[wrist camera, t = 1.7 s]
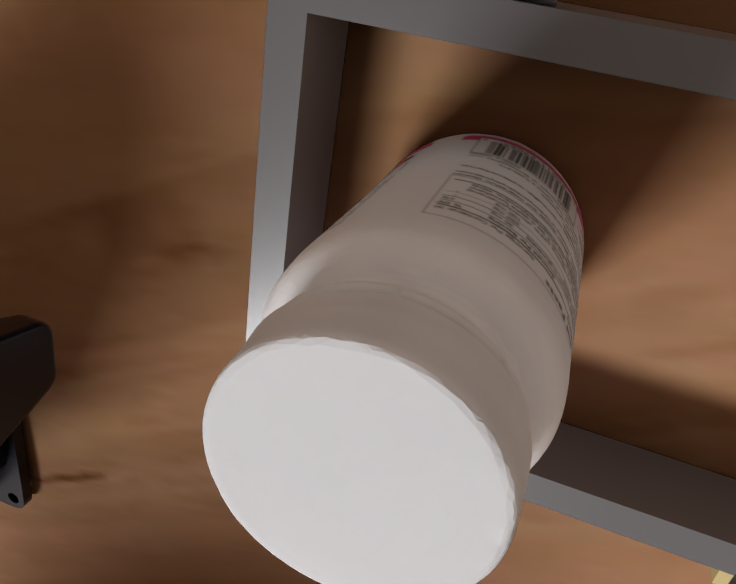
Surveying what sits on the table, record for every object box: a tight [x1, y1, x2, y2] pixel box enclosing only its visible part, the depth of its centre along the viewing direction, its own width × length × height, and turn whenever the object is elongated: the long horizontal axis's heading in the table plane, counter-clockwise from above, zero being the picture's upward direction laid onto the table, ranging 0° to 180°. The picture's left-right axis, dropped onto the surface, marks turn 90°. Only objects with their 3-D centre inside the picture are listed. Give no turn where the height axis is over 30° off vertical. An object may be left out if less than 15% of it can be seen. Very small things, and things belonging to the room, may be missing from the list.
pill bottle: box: [203, 134, 584, 584], centre depth 11 cm, size 5×5×8 cm
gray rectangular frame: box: [246, 0, 736, 584], centre depth 13 cm, size 12×17×2 cm
